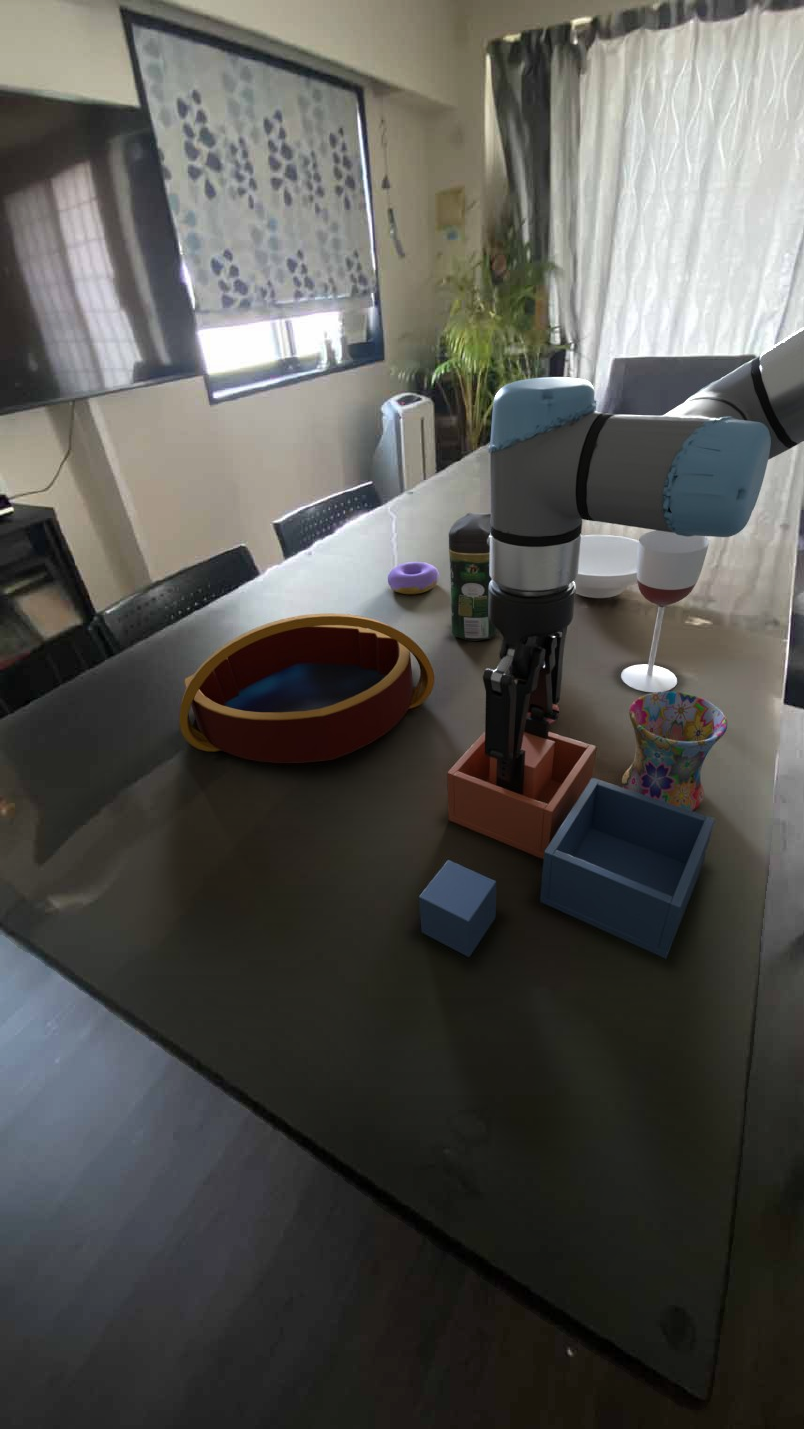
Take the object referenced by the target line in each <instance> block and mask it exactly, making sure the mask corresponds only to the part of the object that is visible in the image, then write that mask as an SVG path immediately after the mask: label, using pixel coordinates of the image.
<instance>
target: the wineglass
mask: <svg viewBox="0 0 804 1429" xmlns="http://www.w3.org/2000/svg"><path fill="white" fill-rule="evenodd" d="M638 541H639V544H638V554H637V582H638V583H637V586H638V590H639V592H640V594H641V595H642V597H643V598H645V599H646V600H647V601H649V602H651V603H652V604H654V605H657V606H658V608H657V614H656V618H655V625H654V630H653V636H652V642H651V646H650V647H651V648H650V652H649V658H648V663H647V664H646V663H645V664H644V663H643V664H642V663H641V664H634V665H631V666H628V667H626V668H624V669H623V670H622V672H621V675H620V678H621V680H622V682H623V683H625V685H627V686H628V687H630V688H632V689H634V690H638V691H641V692H646V693H655V692H668V691H670V690H672V689H674V688H675V687H676V686H677V684H678V678H677V677H676V675H675V673H673V672H672V671H670V670H669V669H667V668H665V667H662V666H658V665H655V662H656V658H657V651H658V646H659V641H660V636H661V631H662V630H661V629H662V624H663V618H664V613H665V608H666V607H667V606H669V605H673V604H676V603H679V602H681V601H682V600H683V599H686V597H688V596H689V595H690V594H691V593H692V591H693V590H694V588H695V587H696V585H697V583H698V581H699V579H700V576H701V573H702V570H703V566H704V564H705V561H706V556H707V553H708V549H709V545H710V540H709V539H708V536H695V535H694V536H689V537H687V536H682V535H677V534H676V533H672V532H665V531H658V530H651V531H648V532H645V533H643V534H642V535H641V536H640V537H639V538H638Z"/></svg>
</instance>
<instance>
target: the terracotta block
mask: <svg viewBox="0 0 804 1429" xmlns="http://www.w3.org/2000/svg"><path fill="white" fill-rule="evenodd" d="M554 745H555V742H554V741H551V740H547V739H544V738H541V737H538V736H535V735H532V734H529V733H526V732H524V736H523V742H522V748H521V750H524V751H525V765H524V782H523V796H526V797H529V798H531V799H534V800H536V799H537V797H538V796H539V795H540V793H541V792H542V790H543V789H544V788H545V786H546V785H547V783H548V782H549V781H550V779H551V778H552V767H553V756H554ZM496 778H497V759H495V758H492V757H490V782H489V783H491V784H493V785H496Z"/></svg>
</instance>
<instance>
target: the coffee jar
mask: <svg viewBox="0 0 804 1429" xmlns="http://www.w3.org/2000/svg"><path fill="white" fill-rule="evenodd" d="M490 520H491V512H490V513H489V512H467V513H465V515H463V516H461V517H460V518H459V519H457V520H456V521H455V522H454V523H453V524H452V526H451V527H450V529H449V531H448V556H449V574H450V575H449V578H450V579H449V580H450V619H451V620H450V622H451V623H450V624H451V626H450V628H451V633H452V635H453V636H454V637H456V638H459V639H462V640H465V641H471V642H479V641H483V640H489V639H492V638H494V637H495V635H496V634H497V632H498V631H499V630H498V629H497V628H496V627H495V626H494V625H493V624H492V623H491V622H490V620H489V616H488V597H489V583H490V581H491V580H492V579H491V577H490V574H489V568H490V546H489V545H488V544H487V539H488V537H489V536H490Z"/></svg>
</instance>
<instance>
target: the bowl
mask: <svg viewBox="0 0 804 1429" xmlns="http://www.w3.org/2000/svg"><path fill="white" fill-rule="evenodd" d="M638 544H639V539H638V540H637V539H635V538H631V537H625V536H617V535H612V534H611V535H609V534H585V535H581V544H580V556H579V568H578V575H577V578H576V579H575V580H574V582H575V584H576V592H575V595H579V596H582V597H585V598H586V597H587V598H592V599H593V598H594V599H605V598H613V597H615V596H618V595H619V596H620V595H621V594H622V593H624V591H625V590H626V589H627V588H628V587H630V586H633V585H638V582H637V554H638Z"/></svg>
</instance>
